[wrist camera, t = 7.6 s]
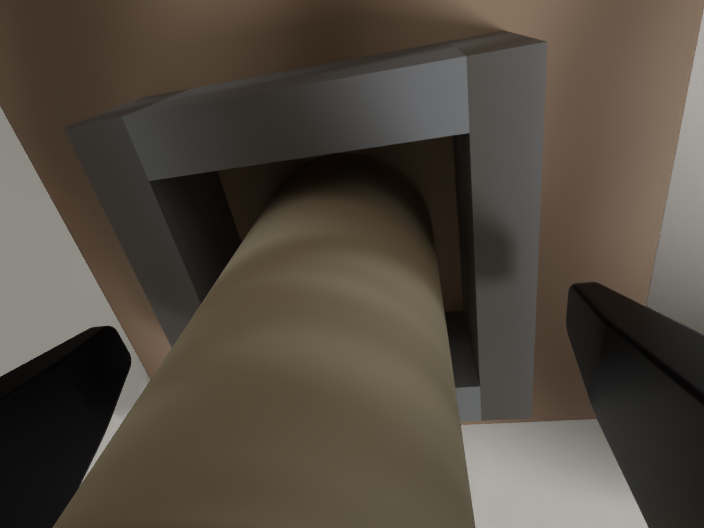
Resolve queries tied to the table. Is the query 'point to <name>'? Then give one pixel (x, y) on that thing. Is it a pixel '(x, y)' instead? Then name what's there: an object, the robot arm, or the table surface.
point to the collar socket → (365, 151)
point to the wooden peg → (302, 378)
